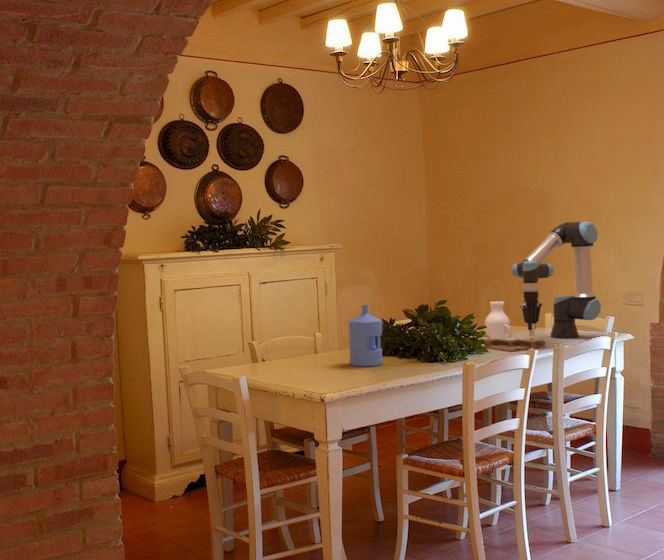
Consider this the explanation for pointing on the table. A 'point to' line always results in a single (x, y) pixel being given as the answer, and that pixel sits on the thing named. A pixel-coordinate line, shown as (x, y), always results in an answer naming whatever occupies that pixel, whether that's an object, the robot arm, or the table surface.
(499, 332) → the mug
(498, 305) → the vase
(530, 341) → the tile three
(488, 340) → the tile two
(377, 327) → the water jug
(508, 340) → the tile one
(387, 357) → the table surface
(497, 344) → the board
